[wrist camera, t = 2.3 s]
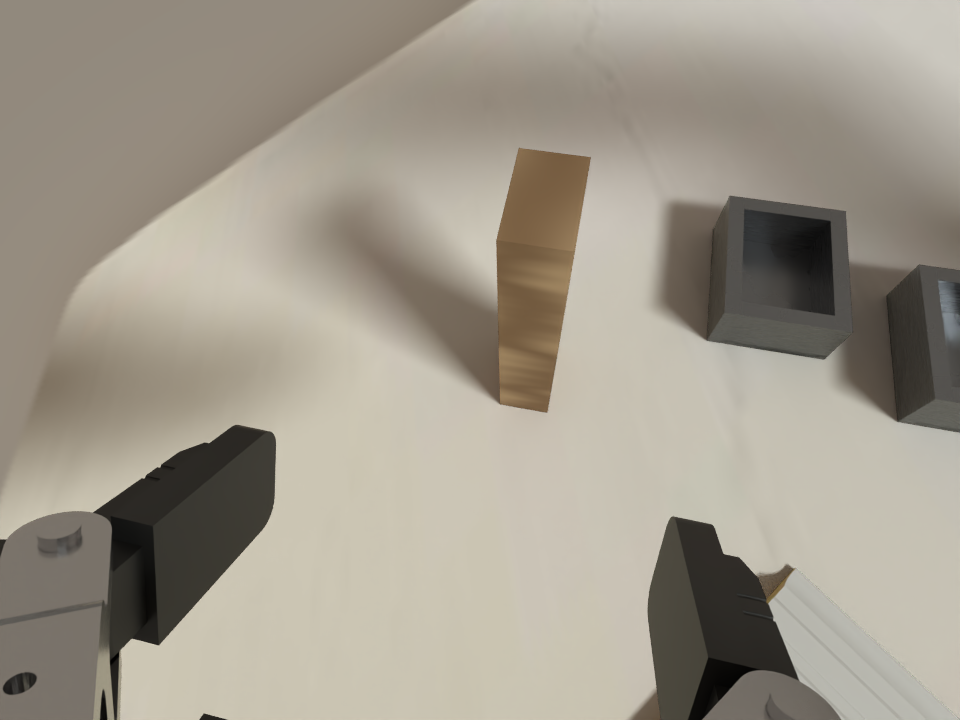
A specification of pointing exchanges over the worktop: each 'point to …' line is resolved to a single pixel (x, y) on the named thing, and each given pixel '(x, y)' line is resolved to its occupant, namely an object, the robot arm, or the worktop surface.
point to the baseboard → (846, 659)
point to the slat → (536, 271)
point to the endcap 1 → (780, 278)
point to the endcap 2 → (927, 347)
